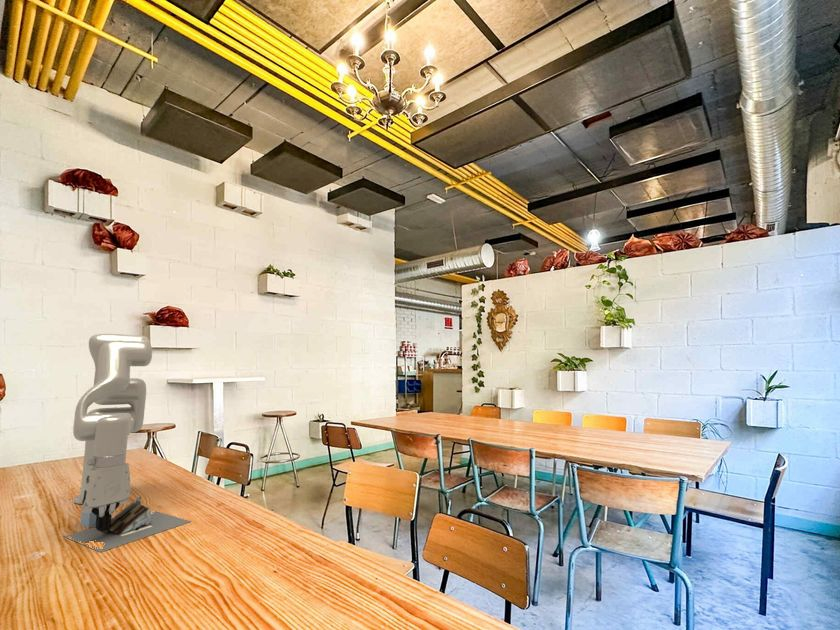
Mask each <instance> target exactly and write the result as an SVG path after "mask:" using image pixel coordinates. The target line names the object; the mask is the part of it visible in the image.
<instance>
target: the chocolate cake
mask: <svg viewBox="0 0 840 630" xmlns="http://www.w3.org/2000/svg"><path fill="white" fill-rule="evenodd" d="M151 511H152V509H151V508H149V507H148V506H146V505H143V504H142V501H141V496H139V497H138V498H136V499H135V500H134V501H132V502H130V504H128V505H127V506H126V507H125V508H123V509H122V510H121V511H120V512H119V513H117V514H116V515H115V516H114V517H113V518H111V525H109V530H107V531H106V530H105V531H103V532H102V533H107V532H110V531H113V532H116V533H118V534H122V533H125V532H127V531H130V530H138V529H139V527H140V526H142V525H149V523H150V522H151Z"/></svg>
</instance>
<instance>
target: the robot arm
mask: <svg viewBox="0 0 840 630" xmlns="http://www.w3.org/2000/svg"><path fill="white" fill-rule="evenodd" d="M88 350H89V353H90V356H91V358H92V360H93V364H94V369H95V370H94V371H95V372H94V378H93V386H92V387H90V388H89V389H88V390H86V391H85V393H83V395H82V396H81V397H80V399H78V402H77V405H76V406H75V411H74V417H73V419H74V420H73V427H72V429H73V430H72V433H73V437H74V439H76V440H77V441H79V442H85V443H84V456H83V463H82V464H83V466H82V476H81V485H80V489H79V490H80V491H79V492H80V493H79V495H76V496H75V497H74V498H73V503H75V504H78V505H79V504H80V505H82V507H81V510H80V511H81V512H83V513H93V514H95V515H96V526H95V527H96V529H97V530H98V531H101V532H103V531H105V530H106V531H107V530H109V525H111V519H112V515H113V514H114V513H115V511H116V509H117V508H119V506H122V505H123V504H125V503H127V502H128V499H129V498H130V496H131V471H130V465H129V463H127V462H126V460H127V459H126V458H127V448H128V438H129V437H128V436H129V435H130V434H131V433H132V434H133V433H137V432H139V431H140V430H142V427H143V424H144V419H145V410H146V399H147V384H146V382H145V381H144V379H143V378H142V379H141V378H135V377H133V378H132V377H130V376H131V375H130V374H131V367H147V366H149V365H150V363H151V361H152V358H153V347H152V344H151V341H150V338H148V337H147V336H146V335H139V334H137V335H136V334H120V333H118V334H117V333H97V334H94V335H92V336H90V338H89V340H88ZM92 404H96V405H98V406H99V405H100V406H114V405H115V406H116V405H117V406H119V405H129V406H123V407H117V406H116V407H115V406H114V407H102V408H101V407H99V408H95V409H92V410H90V411H88V409H89V407H90V406H91V405H92ZM105 505H106V506H105ZM104 506H105V510H104ZM81 512H80V513H81Z"/></svg>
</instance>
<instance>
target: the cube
mask: <svg viewBox="0 0 840 630" xmlns="http://www.w3.org/2000/svg"><path fill="white" fill-rule="evenodd" d="M105 506H106V505H105ZM105 506H104V510H105ZM80 513H81V514H80V522H79V524H80V526H82V527H85V528H87V529H91V528H94V527H96V515H95V514H93V513H83V512H80Z"/></svg>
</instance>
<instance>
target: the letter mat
mask: <svg viewBox="0 0 840 630" xmlns="http://www.w3.org/2000/svg"><path fill="white" fill-rule="evenodd" d="M157 511H158V510H155V512H154V513H153V512H152V513H153V514H151V522H150V523H149V525H142V526H140V527H139V529H138V530H130V531H127V532H125V533H122V534H118V533H116V532H113V531H110V532H107V533H102V532H101V531H98V530H97V529H96V526H94V527H90V528H87V529H84V530H81V531H78V532H74V533H70V534H66V535H63V538H65V537H66V539H68V537H69V536H70V537H72V538H71V539H72V540H73V539H74V540H73V541H72V540H71V541H72V542H75V541H76V543H77V542H78V541H79V542H80V541H81V543H83V542H84V543H89V541H94V543H95V542H104V543H105V545H104V543H103V545H104V547H103V549H99V548H98V549H97V547H96V549H95V546H94V550H93V551H96V552H98V553H103V552H106V551H108V550H112V549H115V548H118V547H120V546H124V545H127V544H129V543H133V542H136V541H140V540H141V539H145V538H147V537H151V536H153V535H156V534H159V533H162V532H164V531H168V530H171V529H174V528H177V527H179V526H183V525H185V524H188V523H191V522H192V521H191V520H187V519H185V518H181V517H177V516H174V515H171V514H168V513H165V512H161V513H160V511H158V512H157ZM70 537H69V538H70ZM95 540H96V541H95ZM85 545H86V544H85ZM87 545H88V544H87ZM87 545H86V546H87ZM82 546H84V544H83V545H82ZM86 546H85V547H86ZM87 548H89V545H88V547H87ZM92 548H93V546H92Z"/></svg>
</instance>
